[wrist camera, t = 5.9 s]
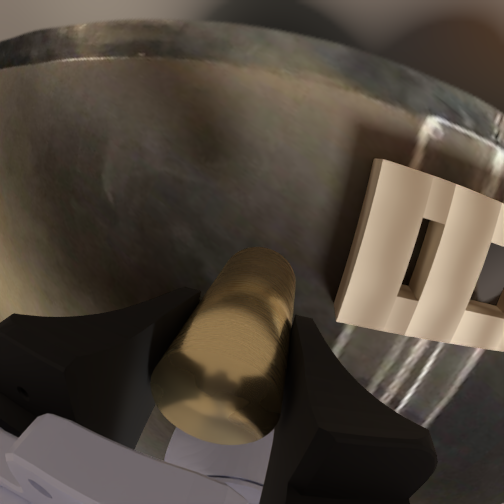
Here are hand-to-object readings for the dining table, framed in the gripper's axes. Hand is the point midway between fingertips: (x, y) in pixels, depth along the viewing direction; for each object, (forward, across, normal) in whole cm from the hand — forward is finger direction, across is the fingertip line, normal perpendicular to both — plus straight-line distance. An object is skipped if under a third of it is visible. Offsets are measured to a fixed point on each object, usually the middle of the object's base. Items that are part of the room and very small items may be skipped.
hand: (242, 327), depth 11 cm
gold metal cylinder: (+4, 0, 0) cm, 4 cm away
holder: (+10, -13, -2) cm, 17 cm away
